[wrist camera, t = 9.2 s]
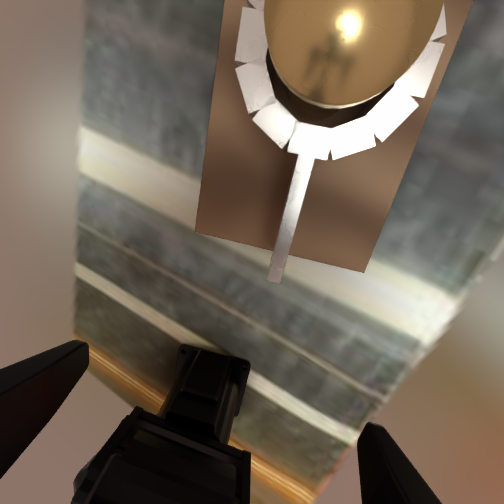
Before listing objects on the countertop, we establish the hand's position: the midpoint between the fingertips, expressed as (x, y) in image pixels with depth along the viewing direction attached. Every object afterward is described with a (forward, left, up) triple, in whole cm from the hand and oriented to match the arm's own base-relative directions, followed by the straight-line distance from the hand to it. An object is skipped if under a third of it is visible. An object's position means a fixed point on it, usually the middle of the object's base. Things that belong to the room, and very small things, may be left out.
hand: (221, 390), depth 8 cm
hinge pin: (+11, -1, -11) cm, 16 cm away
